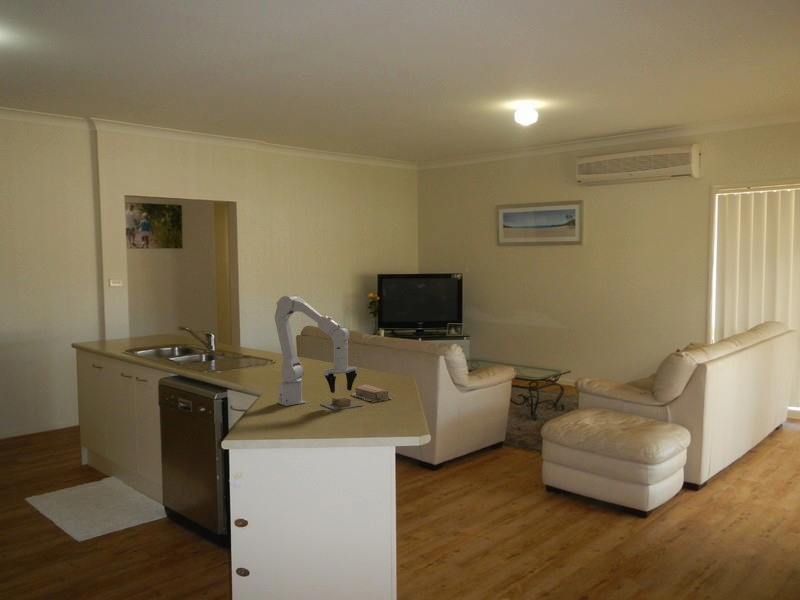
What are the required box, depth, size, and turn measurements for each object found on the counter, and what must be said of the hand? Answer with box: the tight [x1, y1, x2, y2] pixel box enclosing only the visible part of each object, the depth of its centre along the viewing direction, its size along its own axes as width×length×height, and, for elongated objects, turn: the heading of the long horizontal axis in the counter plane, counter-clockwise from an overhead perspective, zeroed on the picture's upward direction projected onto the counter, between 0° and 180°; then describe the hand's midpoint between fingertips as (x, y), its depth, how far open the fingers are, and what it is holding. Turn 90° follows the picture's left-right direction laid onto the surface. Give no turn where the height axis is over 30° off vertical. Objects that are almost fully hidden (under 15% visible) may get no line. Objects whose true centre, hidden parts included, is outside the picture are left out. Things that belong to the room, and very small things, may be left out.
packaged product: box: [350, 384, 393, 403], centre depth 277 cm, size 18×5×10 cm
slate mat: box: [319, 401, 364, 411], centre depth 262 cm, size 13×12×1 cm
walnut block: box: [331, 395, 351, 407], centre depth 262 cm, size 7×4×3 cm, turn 35°
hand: (341, 391), depth 262 cm, fingers open, 7 cm apart
